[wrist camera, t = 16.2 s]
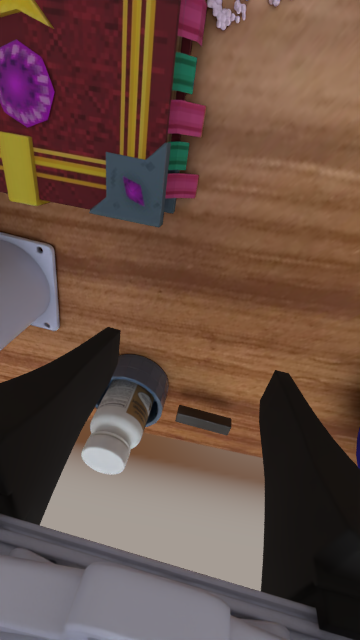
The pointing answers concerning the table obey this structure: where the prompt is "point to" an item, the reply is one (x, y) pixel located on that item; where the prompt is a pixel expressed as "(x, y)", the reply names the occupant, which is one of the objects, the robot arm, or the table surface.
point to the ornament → (358, 449)
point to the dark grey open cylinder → (143, 381)
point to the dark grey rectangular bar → (203, 420)
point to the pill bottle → (117, 426)
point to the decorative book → (99, 104)
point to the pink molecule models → (225, 15)
